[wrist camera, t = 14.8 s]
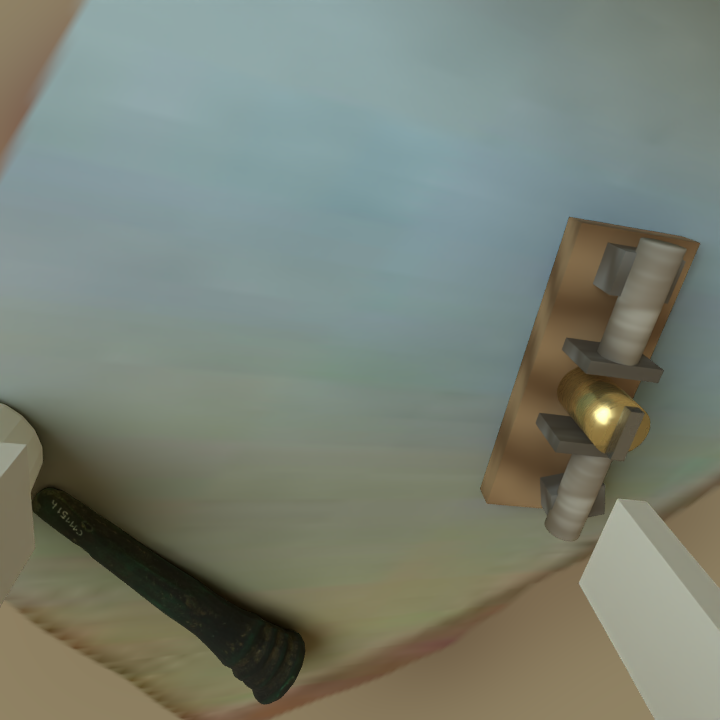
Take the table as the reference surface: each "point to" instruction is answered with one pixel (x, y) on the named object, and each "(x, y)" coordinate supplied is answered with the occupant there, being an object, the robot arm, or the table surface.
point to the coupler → (603, 412)
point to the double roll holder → (583, 364)
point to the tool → (183, 599)
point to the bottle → (21, 438)
